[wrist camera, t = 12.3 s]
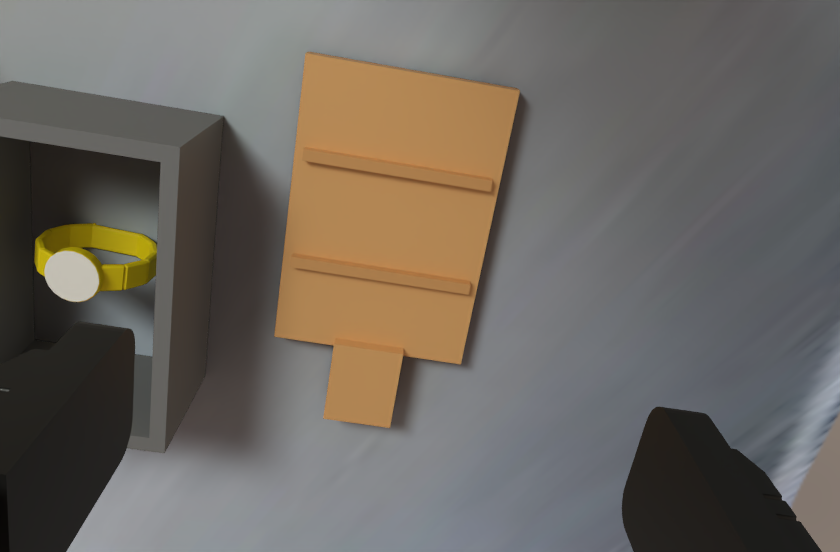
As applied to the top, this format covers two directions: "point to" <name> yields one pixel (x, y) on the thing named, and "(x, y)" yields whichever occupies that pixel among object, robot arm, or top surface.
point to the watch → (92, 260)
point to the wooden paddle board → (388, 221)
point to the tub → (176, 244)
